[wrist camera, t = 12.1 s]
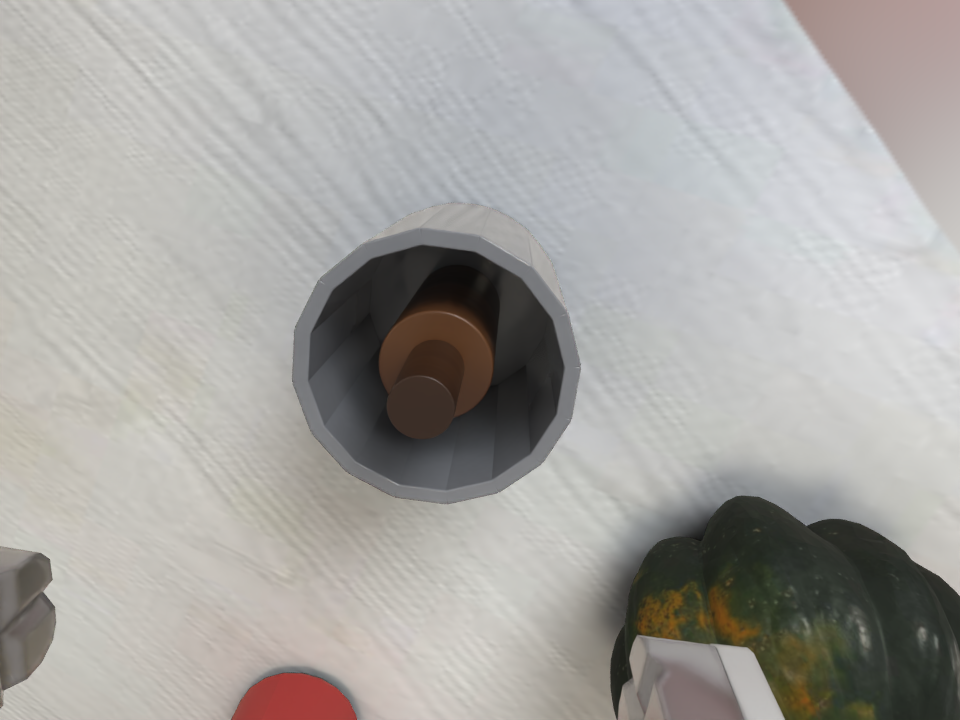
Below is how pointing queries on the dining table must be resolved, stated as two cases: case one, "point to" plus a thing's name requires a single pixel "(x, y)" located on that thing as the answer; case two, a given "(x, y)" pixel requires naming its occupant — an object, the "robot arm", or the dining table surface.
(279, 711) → the beer can
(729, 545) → the squash
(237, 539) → the dining table surface
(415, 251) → the steel cup
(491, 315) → the brown bottle
